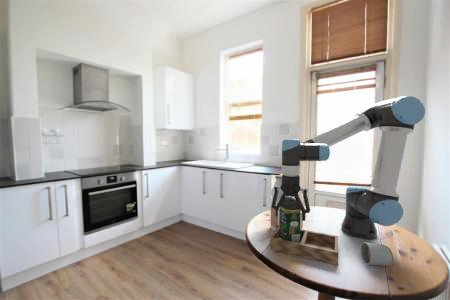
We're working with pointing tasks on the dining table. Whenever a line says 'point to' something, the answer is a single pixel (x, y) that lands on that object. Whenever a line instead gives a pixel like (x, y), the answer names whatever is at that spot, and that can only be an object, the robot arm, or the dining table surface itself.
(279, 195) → the fruit juice
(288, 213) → the coffee jar
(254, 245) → the dining table surface
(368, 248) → the ceramic mug
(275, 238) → the wooden divided tray
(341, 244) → the dining table surface
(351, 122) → the robot arm
